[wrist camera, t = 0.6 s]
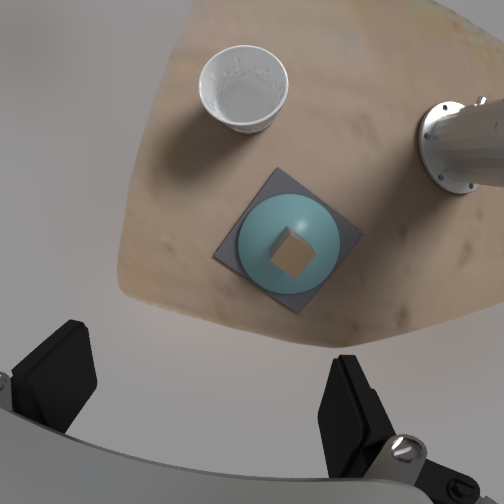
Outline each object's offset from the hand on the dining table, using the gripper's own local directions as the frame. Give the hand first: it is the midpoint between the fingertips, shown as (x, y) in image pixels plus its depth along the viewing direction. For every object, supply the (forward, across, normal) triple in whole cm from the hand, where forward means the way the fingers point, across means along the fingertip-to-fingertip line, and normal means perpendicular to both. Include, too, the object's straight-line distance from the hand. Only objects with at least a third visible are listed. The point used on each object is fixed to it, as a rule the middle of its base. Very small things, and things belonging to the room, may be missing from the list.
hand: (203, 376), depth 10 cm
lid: (+27, -5, 0) cm, 28 cm away
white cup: (+28, +1, -15) cm, 32 cm away
